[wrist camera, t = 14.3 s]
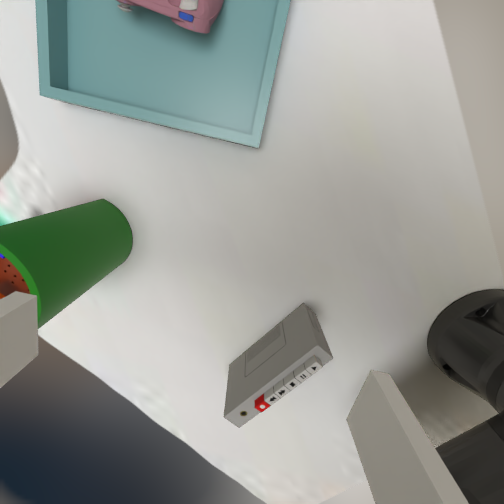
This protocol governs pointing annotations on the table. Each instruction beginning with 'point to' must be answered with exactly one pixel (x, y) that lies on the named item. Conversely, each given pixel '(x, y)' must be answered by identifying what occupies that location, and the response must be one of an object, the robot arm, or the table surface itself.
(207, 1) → the video game controller
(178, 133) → the table surface
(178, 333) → the table surface
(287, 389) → the cassette player
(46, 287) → the motor
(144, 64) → the tray
